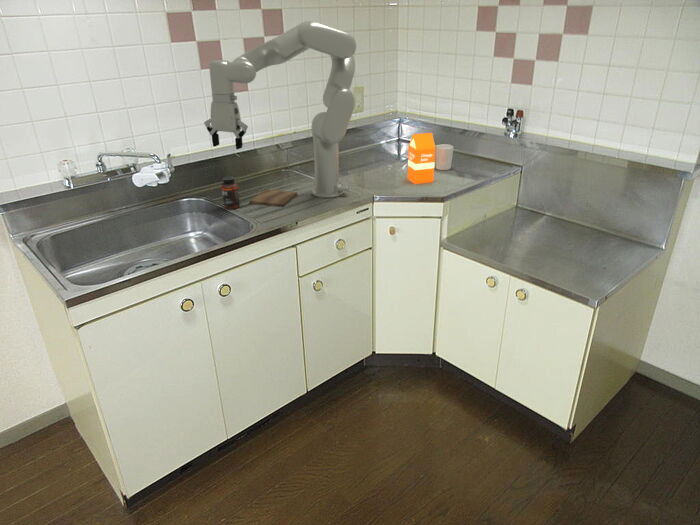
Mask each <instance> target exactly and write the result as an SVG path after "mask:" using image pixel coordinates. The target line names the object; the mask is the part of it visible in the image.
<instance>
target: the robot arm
mask: <svg viewBox="0 0 700 525" xmlns="http://www.w3.org/2000/svg"><path fill="white" fill-rule="evenodd" d="M310 49H311V50H313V51H314V50H315V51H316V52H319V53H323V54H326V55H329V56H330V59H331V68H330V72H329V77H328V79H327V83H326V85H325V89H324V91H323V95H322V102H323V105H324V106H325V107H326V108H327V109H326V111H323V112H318V113H316V115H315V116H313V119H312V121H311V134H312V141H313V155H314V156H313V158H314V180H315V183H314V185H315V187H313V188H312V190H311V194H312V195H313V197H314V196H315V197H317V198H322V199H330V198H337V197H340V196H342V195H343V194H344V192H349V191H350V186H349V185H348V184H342V180H340V168H339V167H340V164H339V163H340V162H339V159H340V158H339V157H340V156H339V151H340V150H339V142H341V140H343V138H344V137H345V134H346V133H347V130H348V128H349V125H350V123H351V122H350V121H351V118H352V116H353V113H354V110H355V106H356V101H355V98H356V97H355V95H354V93H353V92H352V90H351V89H350V88H351V86H352V82H353V79H354V77H355V71H356V61H355V57H354V55H355V53H356V50H357V41H356V39H355V38H354V36H353V35H352V34H350V33H348V32H345V31H342V30H340V29H337V28H333V27H330V26H327V25H324V24H322V23H319V22H315V21H310V20H307V21H303V22H301V23H298V24H297V25H296V26H293V27H292V28H290V29H288V30H286V31H285V32H282V33H281V34H279V35H278V36H276V37H273V38H272V39H270V40H268V41H266V42H264V43H263V44H260V45H258V46H256V47H254V48H252V49H250V50H248V51H247V52H246V51H245V53H242V54H241V55H238V56H237V57H236V58H235V59H233V60H232V61H229V60H224V59H217V60H216V59H215V60H211V61H210V62H209V66H208V68H209V76H210V77H209V78H210V87H211V88H210V90H211V100H212V101H211V103H210V118H209V119H207V120H205V121H204V123H203V124H204V125H205V127H206V130H207V132H208V133H209V135H210V136H211V142H212V147H217V146H219V145H220V136H219V134H218V132H224V133H225V132H226V133H232V134H233V135H234V136H235V138H234V139H235V140H234V141H235V149H236V150H240V149H242V148H243V137H244V135H245V134H246V133H247V129H248V127H249V126H248V125H247V124H246V123H244V122H243V121H242V120H241V119H242V118H241V113H240V108H239V105H238V102H237V100H238V96H237V95H235V89H234V88H235V87H234V83H235V84H251V83H252V82H253V81H254V80H255V79H256V77H257V72H259V71H261V70H263V69H265V68H268V67H270V66H271V67H272V66H276V65H281V64H285V63H286V62H288V61H291V59H293V58H296V57H297V56H299V55H301V54H302V53H304V52H305V51H308V50H310Z"/></svg>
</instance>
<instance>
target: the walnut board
mask: <svg viewBox="0 0 700 525" xmlns="http://www.w3.org/2000/svg"><path fill="white" fill-rule="evenodd" d="M297 196H298V191H287V190H286V191H285V190H274V189H267V188H266V189H264V190H263V191H261V192H260V193H258V194H257V195H256V196H254V197H253V198H252V199H250V200H249V204H253V205H262V206H273V207H280V208H281V207H282V208H283V207H285V206H286V205H288V204H289V203H290V202H291V201H292V200H293V199H294V198H296V197H297Z"/></svg>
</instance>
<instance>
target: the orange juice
mask: <svg viewBox="0 0 700 525" xmlns="http://www.w3.org/2000/svg"><path fill="white" fill-rule="evenodd" d="M407 154H408V156H407V158H408V160H407V178H406V180H409V181H410V182H411V183H413V184H414V185H417V184H419V185H420V184H428V183H433V182H434V177H435V176H434V175H435V166H436V145H435V141H434V136H433V132H425V133H413V134H412V137H411V138H410V142H409V144H408V153H407Z"/></svg>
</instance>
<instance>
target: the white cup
mask: <svg viewBox="0 0 700 525" xmlns="http://www.w3.org/2000/svg"><path fill="white" fill-rule="evenodd" d="M453 153H454V146H453V145H452V144H446V143H445V144H437V145H435V168H436V170H440V171H448V170H449V171H450V170H451V167H452V163H453V155H454V154H453Z"/></svg>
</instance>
